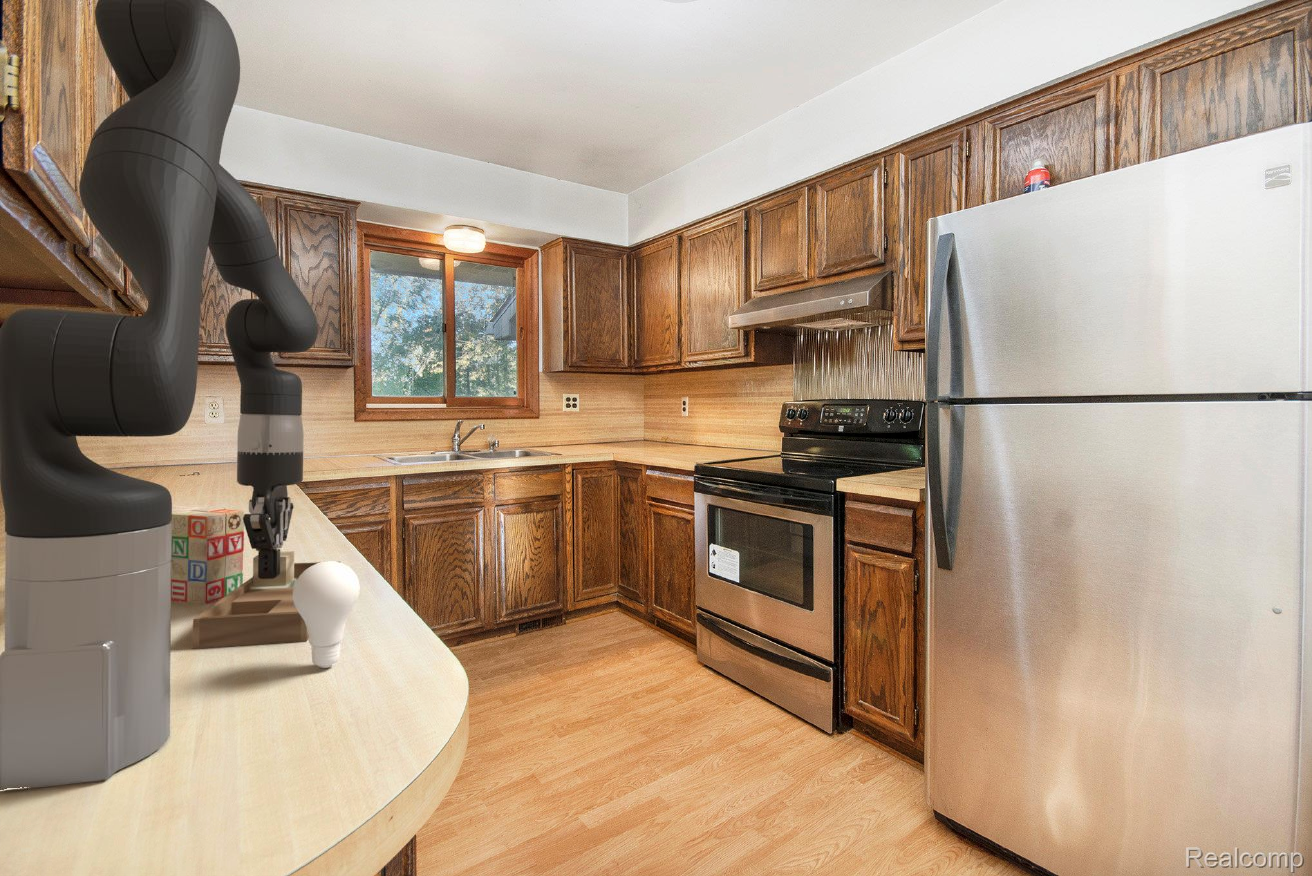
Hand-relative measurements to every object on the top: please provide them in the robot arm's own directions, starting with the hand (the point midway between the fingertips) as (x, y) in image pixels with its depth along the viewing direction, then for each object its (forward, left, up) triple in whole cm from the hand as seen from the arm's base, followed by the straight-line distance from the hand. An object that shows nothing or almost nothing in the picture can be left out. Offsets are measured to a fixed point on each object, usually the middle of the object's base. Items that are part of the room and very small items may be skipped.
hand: (269, 577), depth 83 cm
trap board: (-4, -2, -4) cm, 6 cm away
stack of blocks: (+11, +17, -5) cm, 21 cm away
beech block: (+4, 0, -2) cm, 4 cm away
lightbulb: (-23, -12, -4) cm, 27 cm away
